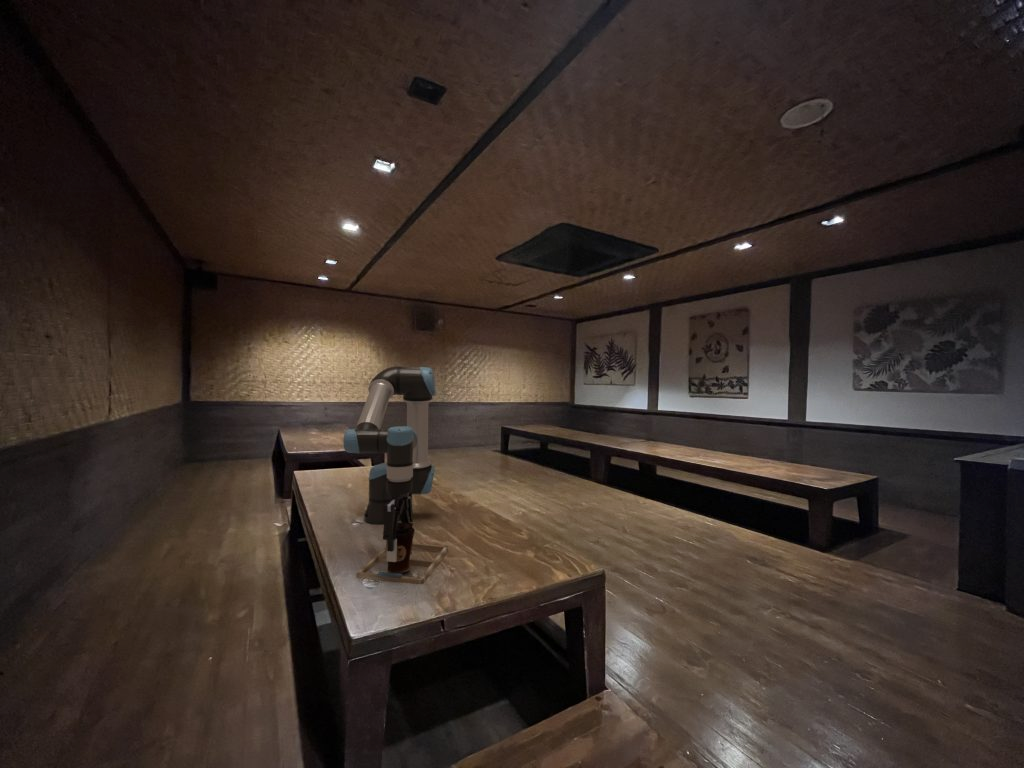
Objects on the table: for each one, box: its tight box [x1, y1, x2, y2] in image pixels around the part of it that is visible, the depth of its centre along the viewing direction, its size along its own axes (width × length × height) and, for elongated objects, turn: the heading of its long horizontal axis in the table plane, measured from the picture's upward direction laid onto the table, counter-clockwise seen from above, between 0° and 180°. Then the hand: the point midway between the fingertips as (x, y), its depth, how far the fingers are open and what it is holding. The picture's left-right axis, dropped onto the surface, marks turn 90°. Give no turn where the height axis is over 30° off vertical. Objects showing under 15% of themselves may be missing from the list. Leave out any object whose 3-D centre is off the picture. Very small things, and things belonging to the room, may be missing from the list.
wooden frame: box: [355, 542, 449, 585], centre depth 123 cm, size 23×20×3 cm
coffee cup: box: [385, 522, 415, 574], centre depth 118 cm, size 9×8×13 cm
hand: (398, 554), depth 118 cm, fingers closed on coffee cup, 8 cm apart
